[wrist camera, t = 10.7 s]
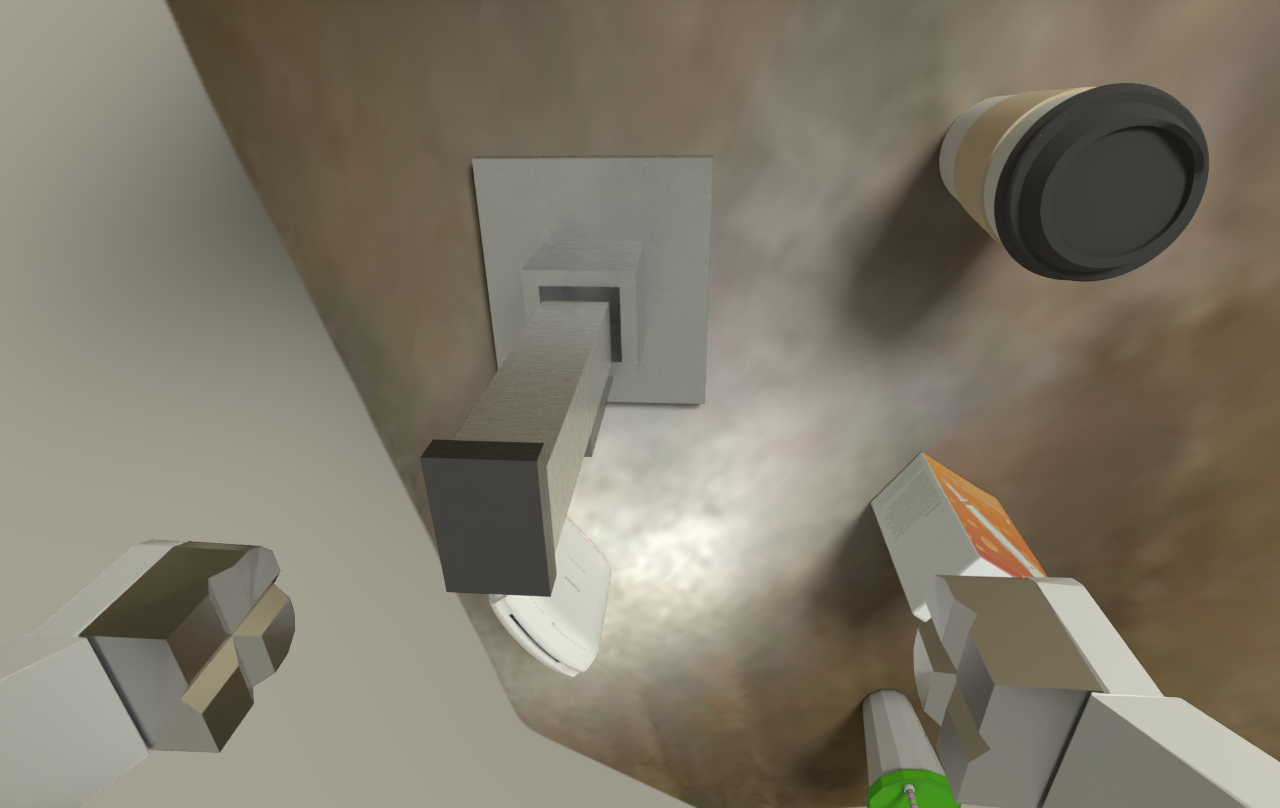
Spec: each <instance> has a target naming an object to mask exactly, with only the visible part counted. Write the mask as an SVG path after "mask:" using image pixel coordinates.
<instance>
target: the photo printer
mask: <svg viewBox="0 0 1280 808" xmlns="http://www.w3.org/2000/svg"><path fill="white" fill-rule="evenodd" d="M555 561H556V572H557V576H556V580H555V583H554V587H553V590H552V594H551V597H541V596H521V595H500V594H489V603H490V605H491V608H492V609H493V611H494V613H495V615H496V616H497V618H498V619H499V621H500V622H501V624H502V625H503V626H504V627H505V629H506V630H507V631H508V632H509V633H510V635H511V636H512V637H513V638H514V639H515V640H516V641H517V642H518V643H519V644H520V645H521V646H522V647H523V648H524V649H525V650H526V651H527V652H528V653H529V654H531V655H532V656H533V657H534V658H536V659H537V660H538V661H540V662H541V663H542V664H544V665H546V666H547V667H549V668H550V669H552V670H554V671H556V672H558V673H561V674H563V675H566V676H570V677H574V676H576V675H577V674H578V673H581V672H584V671H585V670H587V668H588V667H589V666H590V665H591V663H592V662H593V660H594V659H595V657H596V655H597V652H598V650H599V646H600V640H601V634H602V629H603V623H604V616H605V610H606V603H607V598H608V592H609V585H610V578H611V567H610V565H609V563H608V562H607V560H606V559H605V558H604V557H603V555H602V554H601V553H600V552H599V551H598V550H597V549H596V548H595V547H594V545H593V544H592V543H591V542H590V541H589V540H588V539H587V538H586V537H585V536H584V535H583V534H582V533H581V532H580V531H579V530H578V529H577V528H576V527H575V526H574V525H573V524H572V523H571V522H570V521H569V520H568V519H567V518H566V519H565V523H564V526H563V529H562V533H561V536H560V539H559V543H558V546H557V550H556V553H555Z"/></svg>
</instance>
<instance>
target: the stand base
mask: <svg viewBox="0 0 1280 808" xmlns="http://www.w3.org/2000/svg"><path fill="white" fill-rule="evenodd" d="M472 164H473V172H474V180H475V188H476V196H477V204H478V212H479V220H480V228H481V236H482V244H483V252H484V260H485V268H486V277H487V285H488V293H489V301H490V309H491V317H492V325H493V333H494V341H495V349H496V357H497V365H498V369H499V368H500V366H501V365H502V363H503V362H504V360H505V359H506V357H507V355H508V354H509V352H510V351H511V349H512V348H513V346H514V345H515V343H516V342H517V340H518V338H519V337H520V335H521V334H522V332H523V331H524V329H525V328H526V326H527V325H528V323H529V322H530V320H531V318H532V317H533V315H534V314H535V312H536V311H537V309H538V308H539V306H540V305H541V303H542V301H572V302H609V313H610V339H611V367H610V370H609V374H608V377H607V380H606V384H605V387H604V390H603V394H602V397H601V401H600V404H599V407H598V411H597V414H596V418H595V421H594V424H593V428H592V431H591V434H590V438H589V441H588V445H587V448H586V451H585V455H584V457H592V454H593V451H594V447H595V443H596V440H597V436H598V433H599V429H600V425H601V422H602V418H603V414H604V411H605V407H606V404H607V402H641V403H682V404H705V382H706V351H707V321H708V291H709V260H710V230H711V200H712V170H713V155H668V156H477V157H475V158H473V159H472Z"/></svg>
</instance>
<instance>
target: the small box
mask: <svg viewBox="0 0 1280 808" xmlns="http://www.w3.org/2000/svg"><path fill="white" fill-rule="evenodd" d="M871 505H872V508H873V511H874V513H875V516H876V518H877V521H878V524H879V526H880V529H881V532H882V534H883V537H884V540H885V542H886V545H887V548H888V550H889V553H890V556H891V558H892V561H893V564H894V566H895V569H896V571H897V574H898V577H899V579H900V582H901V585H902V587H903V590H904V592H905V595H906V598H907V600H908V603H909V606H910V608H911V611H912V613H913V615H914V616H916V617H917V618H919V619H920V620H922V621H924V622H926V621H928V620H929V619H930V618H931V615H930V612H929V610H928V607H927V605H926V602H925V597H926V593H927V589H928V585H929V583H930V581H931V580H932V578H933V577H934V575H960V576H988V577H1016V578H1025V577H1047V575H1046V574H1045V572H1044V571H1043V569H1042V568H1041V566H1040V564H1039V563H1038V561H1037V560H1036V558H1035V557H1034V555H1033V554H1032V552H1031V551H1030V549H1029V548H1028V546H1027V545H1026V543H1025V542H1024V540H1023V539H1022V537H1021V536H1020V534H1019V532H1018V531H1017V529H1016V528H1015V526H1014V525H1013V523H1012V522H1011V520H1010V518H1009V517H1008V515H1007V514H1006V512H1005V511H1004V509H1003V508H1002V506H1001V505H1000V503H999V502H998V500H997V499H996V498H995V497H993V496H991V495H990V494H988V493H986V492H984V491H983V490H981V489H979V488H978V487H976V486H974V485H973V484H971V483H970V482H968V481H966V480H965V479H963V478H962V477H960V476H958V475H957V474H955V473H954V472H952V471H951V470H949V469H948V468H946V467H944V466H943V465H941V464H940V463H938V462H937V461H935V460H934V459H932V458H931V457H929V456H928V455H926V454H925V453H923V452H921V453H920V454H919V455H918V456H917V457H916V458H915V459H914V460H913V461H912V462H911V463H910V464H909V465H908V466H907V467H906V468H905V469H904V470H903V471H902V472H901V473H900V474H899V475H898V476H897V477H896V478H895V479H894V480H893V481H892V482H891V483H890V484H888V485H887V487H886V488H885V489H884V490H883V491H882V492H881V493H880V494H879V495H878V496H877V497H876V498H875V499H874V500H873V501H872V502H871ZM1047 578H1048V577H1047Z"/></svg>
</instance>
